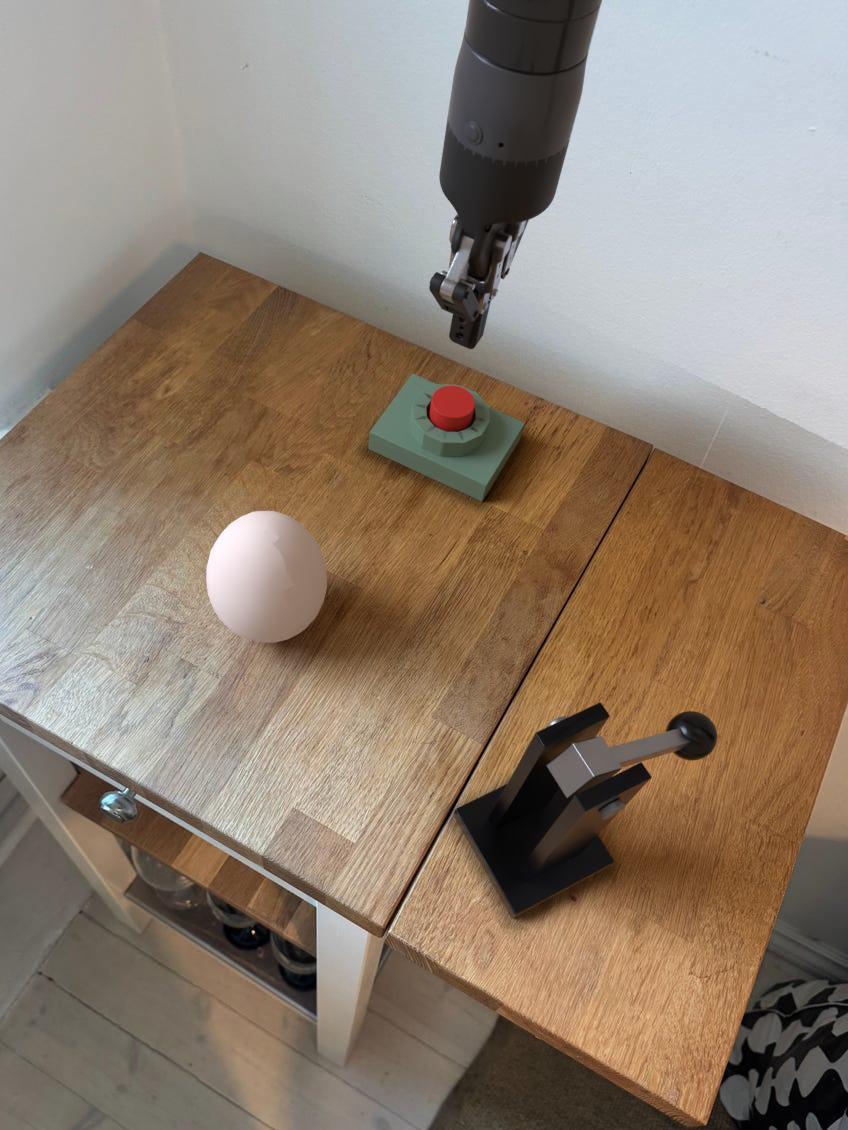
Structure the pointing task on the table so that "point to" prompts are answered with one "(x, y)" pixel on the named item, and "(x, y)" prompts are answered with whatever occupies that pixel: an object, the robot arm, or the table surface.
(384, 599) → the table surface
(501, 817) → the bracket
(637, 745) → the lever
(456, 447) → the button box
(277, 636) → the egg
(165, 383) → the table surface
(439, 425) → the button
